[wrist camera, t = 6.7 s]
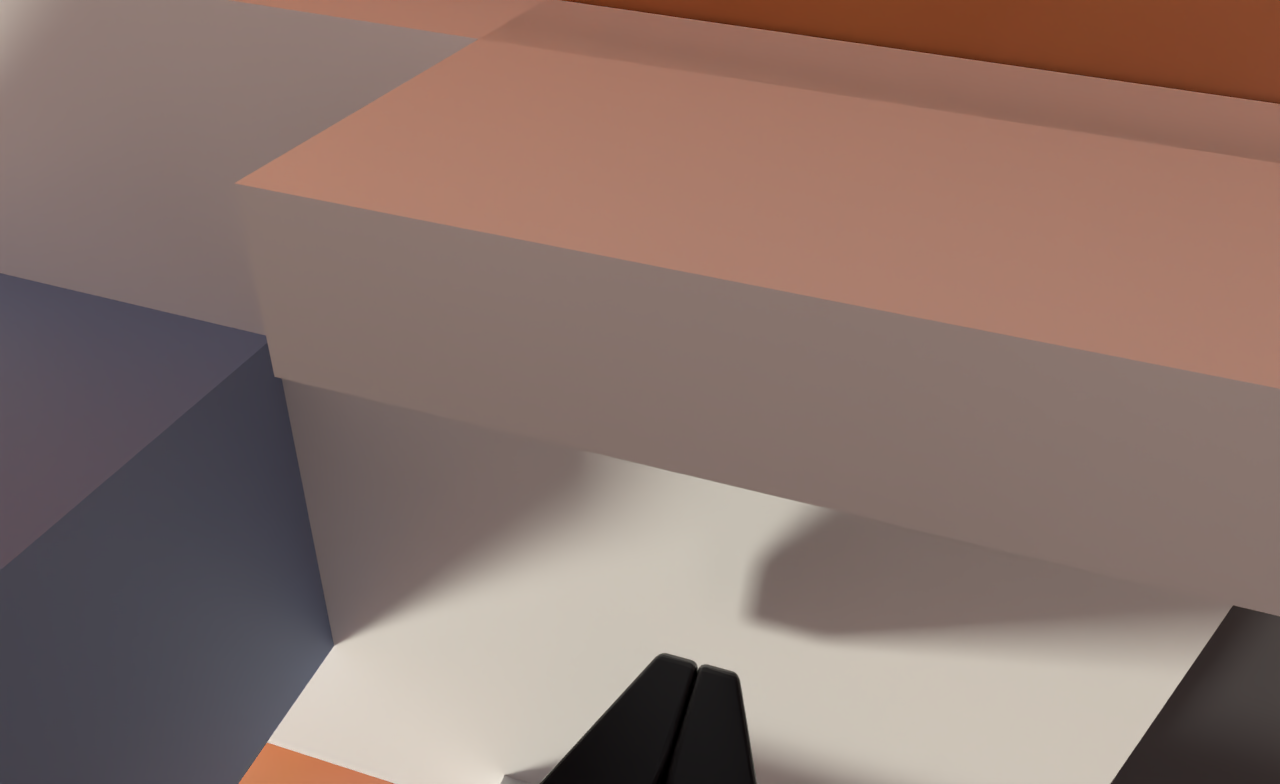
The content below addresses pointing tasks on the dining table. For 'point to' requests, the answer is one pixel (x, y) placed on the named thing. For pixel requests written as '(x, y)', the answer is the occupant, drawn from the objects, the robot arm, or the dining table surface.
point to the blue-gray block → (146, 545)
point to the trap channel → (709, 372)
